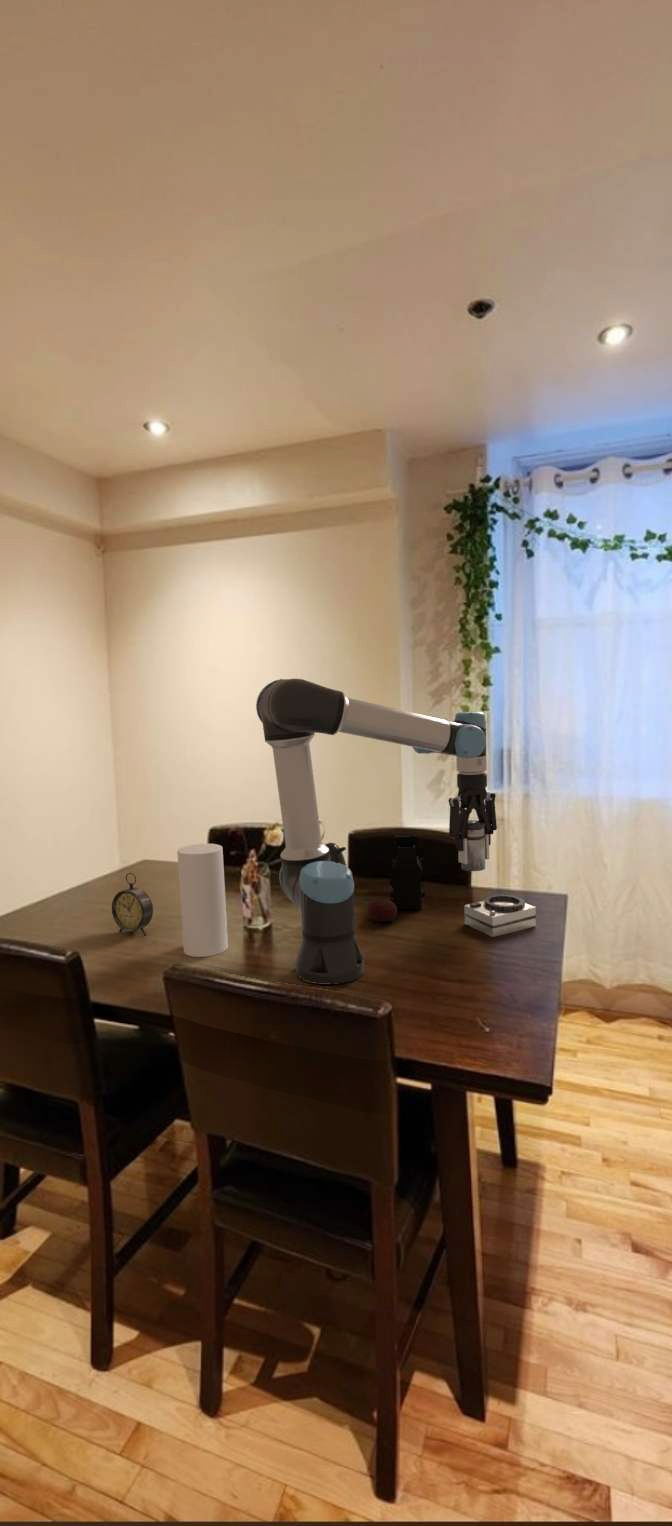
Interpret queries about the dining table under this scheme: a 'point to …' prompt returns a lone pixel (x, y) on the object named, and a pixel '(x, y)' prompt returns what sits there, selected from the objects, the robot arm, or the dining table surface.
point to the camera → (407, 874)
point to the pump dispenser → (336, 853)
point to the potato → (382, 910)
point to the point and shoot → (500, 915)
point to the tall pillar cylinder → (202, 899)
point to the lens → (475, 846)
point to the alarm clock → (132, 909)
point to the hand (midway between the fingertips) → (474, 860)
